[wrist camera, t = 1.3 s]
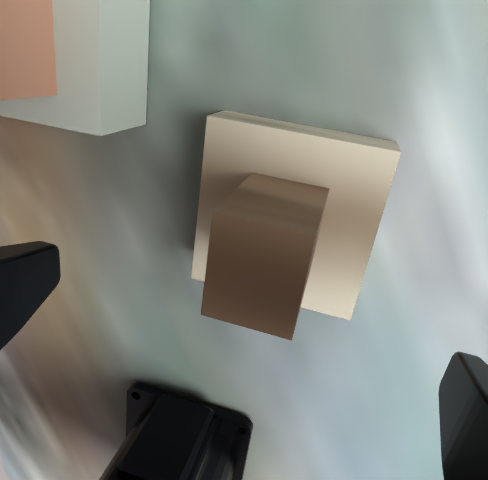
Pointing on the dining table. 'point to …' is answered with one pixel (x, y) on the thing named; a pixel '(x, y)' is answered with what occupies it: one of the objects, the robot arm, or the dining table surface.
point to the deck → (94, 68)
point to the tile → (27, 49)
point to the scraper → (286, 219)
